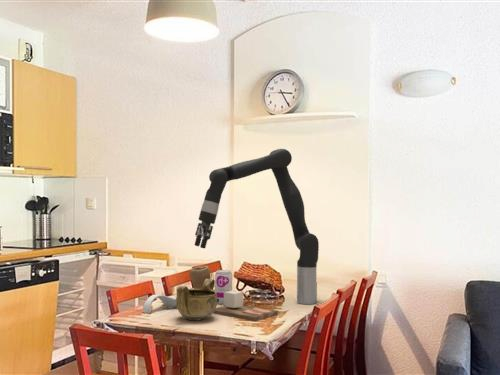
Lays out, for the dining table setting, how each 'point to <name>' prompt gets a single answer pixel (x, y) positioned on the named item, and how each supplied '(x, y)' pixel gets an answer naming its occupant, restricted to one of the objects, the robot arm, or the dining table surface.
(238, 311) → the post board
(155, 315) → the dining table surface
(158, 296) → the grey sandal
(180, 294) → the ceramic bowl
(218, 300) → the supplement can
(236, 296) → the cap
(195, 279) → the stone cup
